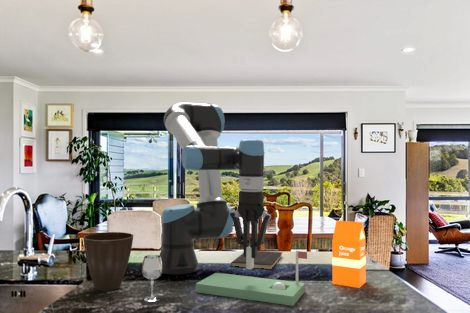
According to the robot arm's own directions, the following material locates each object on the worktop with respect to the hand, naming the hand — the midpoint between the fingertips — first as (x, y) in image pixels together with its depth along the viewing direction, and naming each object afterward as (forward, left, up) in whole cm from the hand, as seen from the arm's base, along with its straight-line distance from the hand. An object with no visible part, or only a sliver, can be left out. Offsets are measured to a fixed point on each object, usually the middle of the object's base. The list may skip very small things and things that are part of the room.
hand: (249, 268), depth 124 cm
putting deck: (0, 0, -7) cm, 7 cm away
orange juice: (+26, +22, -7) cm, 35 cm away
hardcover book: (-11, +39, -8) cm, 41 cm away
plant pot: (-42, -14, -7) cm, 45 cm away
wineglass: (-23, -18, -7) cm, 30 cm away
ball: (+9, -1, -5) cm, 11 cm away
